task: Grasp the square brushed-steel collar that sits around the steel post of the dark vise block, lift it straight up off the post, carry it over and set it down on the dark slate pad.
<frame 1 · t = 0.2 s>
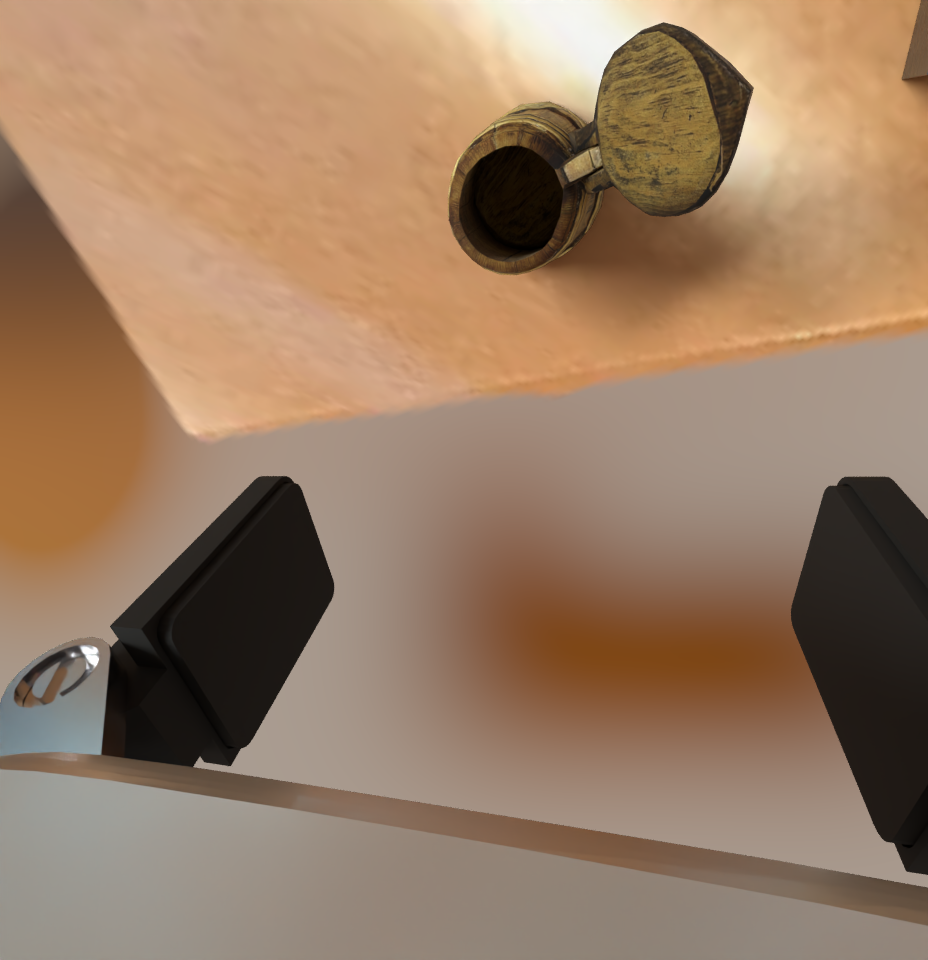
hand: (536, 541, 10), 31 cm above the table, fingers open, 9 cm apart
wooden mug: (565, 172, 33), on the table
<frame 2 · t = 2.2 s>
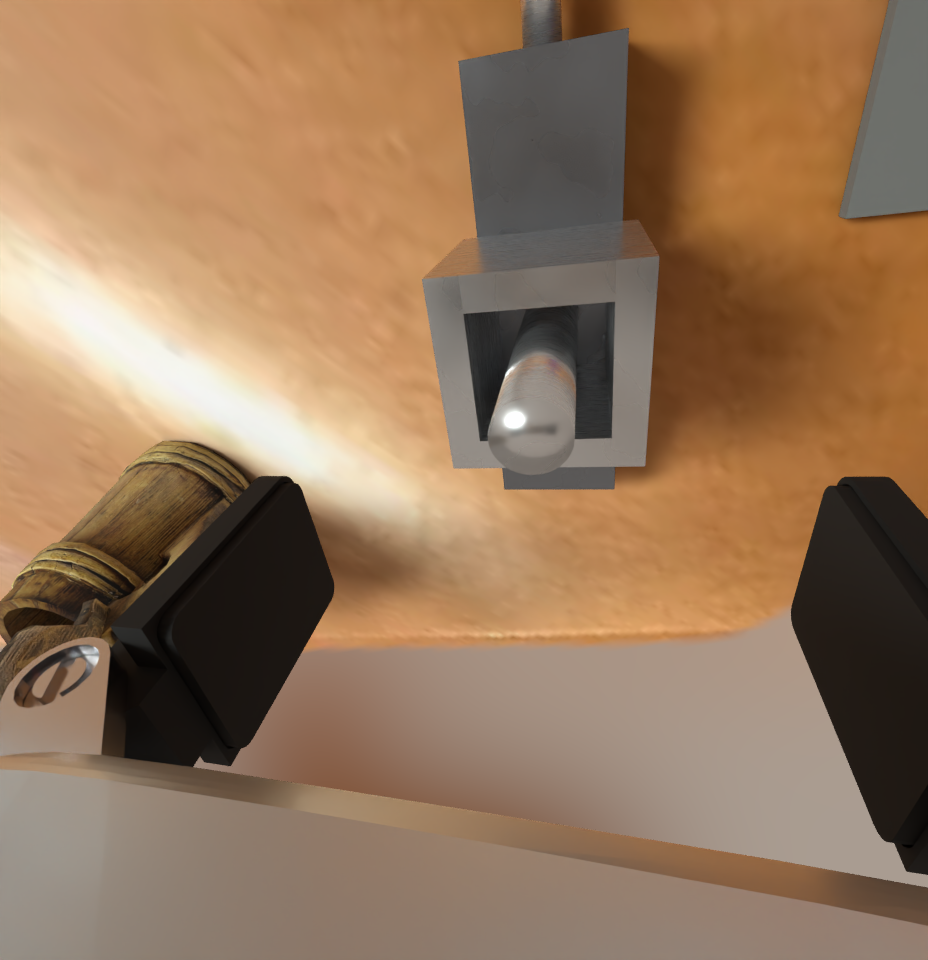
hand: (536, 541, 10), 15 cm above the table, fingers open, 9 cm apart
wooden mug: (230, 491, 32), on the table
steel collar: (551, 315, 20), point 2 cm above the table, touching vise block
vise block: (554, 298, 22), on the table
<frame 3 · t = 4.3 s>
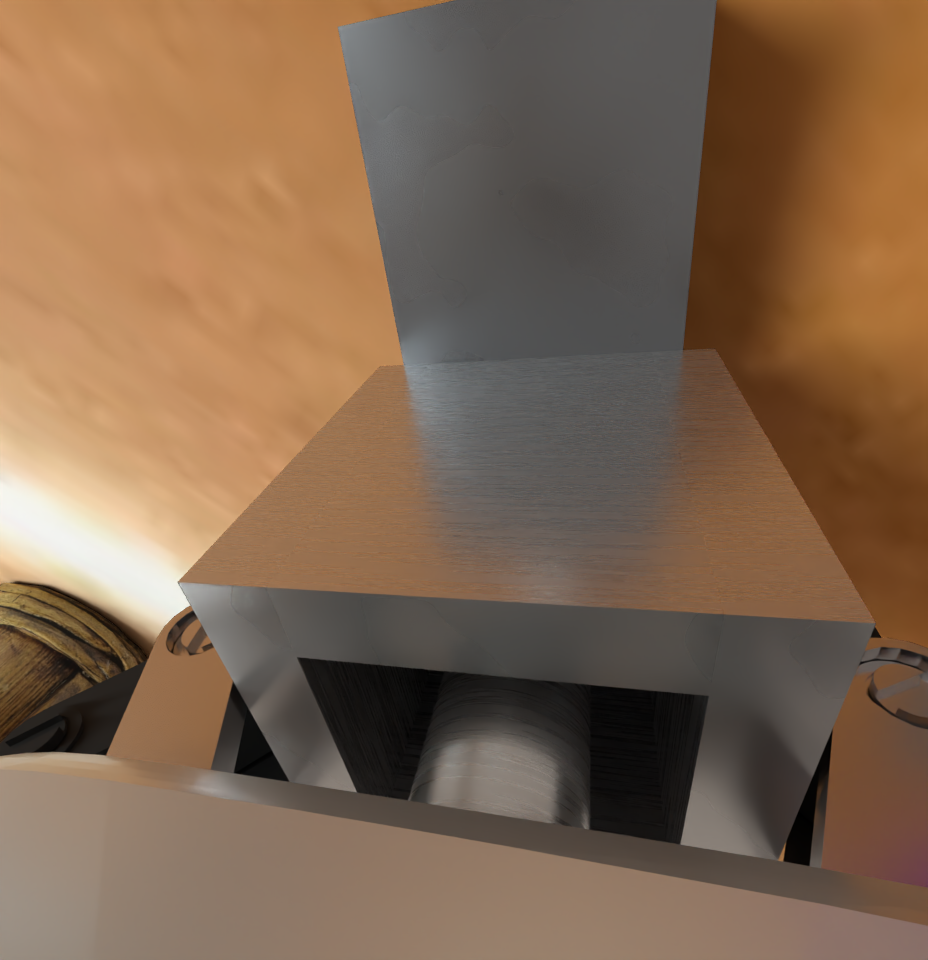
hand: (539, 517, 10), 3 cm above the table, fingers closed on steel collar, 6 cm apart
wooden mug: (107, 641, 23), on the table
steel collar: (542, 495, 11), point 3 cm above the table, touching gripper, vise block
vise block: (550, 439, 13), on the table
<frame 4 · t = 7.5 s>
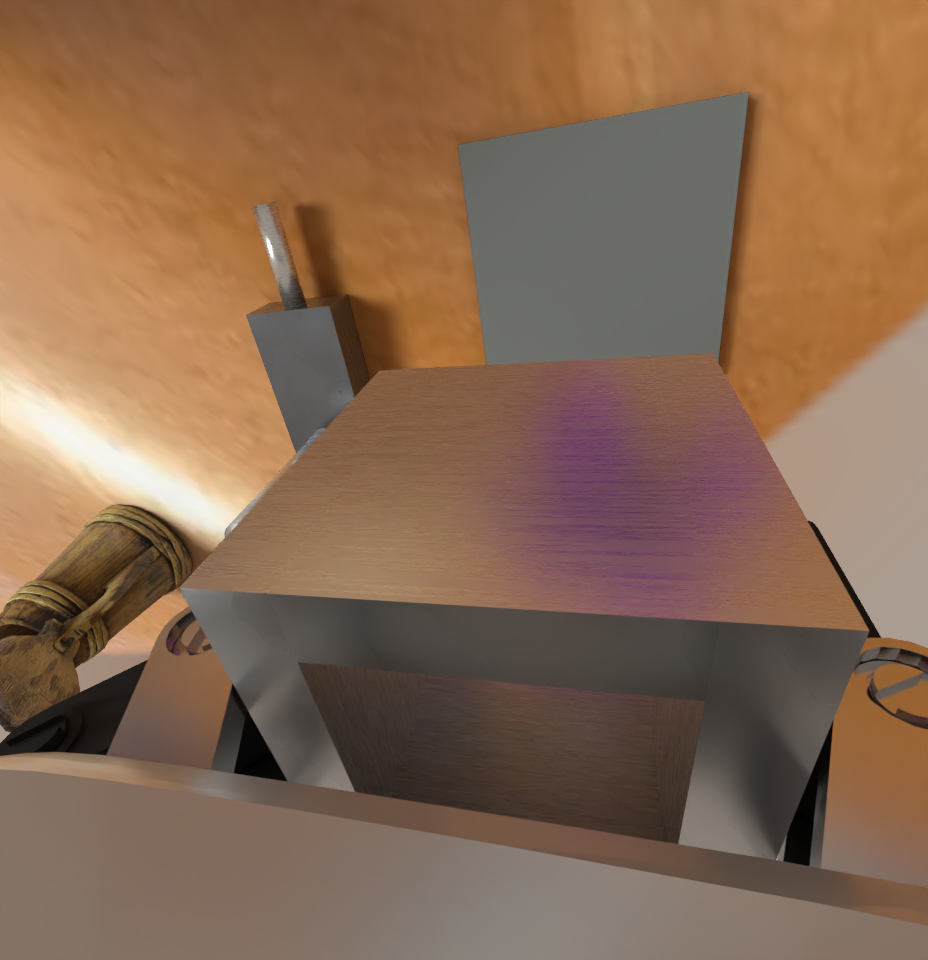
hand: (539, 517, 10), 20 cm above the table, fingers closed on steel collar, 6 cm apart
slate pad: (595, 265, 26), on the table
wooden mug: (162, 538, 44), on the table
steel collar: (541, 498, 11), point 19 cm above the table, touching gripper
vise block: (344, 424, 34), on the table
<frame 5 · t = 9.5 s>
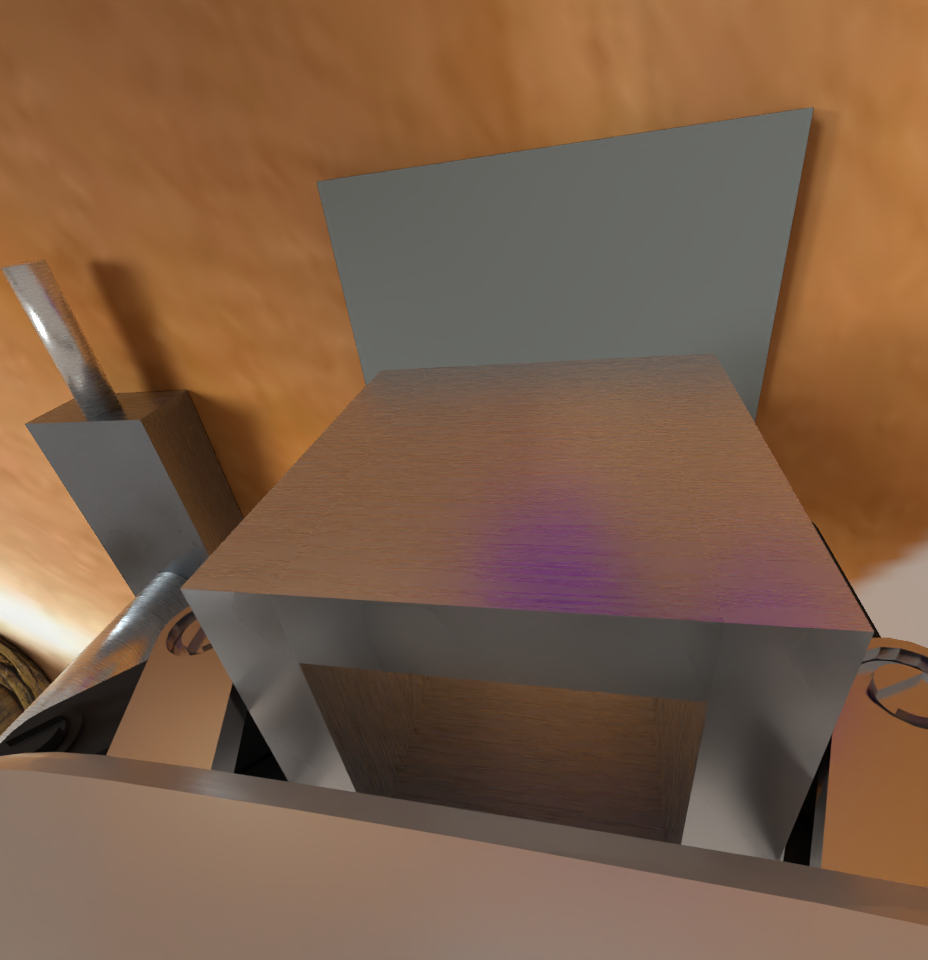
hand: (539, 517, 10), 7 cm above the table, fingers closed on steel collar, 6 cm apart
slate pad: (549, 371, 16), on the table
wooden mug: (12, 655, 34), on the table
steel collar: (542, 498, 11), point 7 cm above the table, touching gripper
vise block: (211, 551, 24), on the table
when the fingers open (3 cm above the table, at t = 11.2 s): steel collar drops 2 cm, resting on slate pad.
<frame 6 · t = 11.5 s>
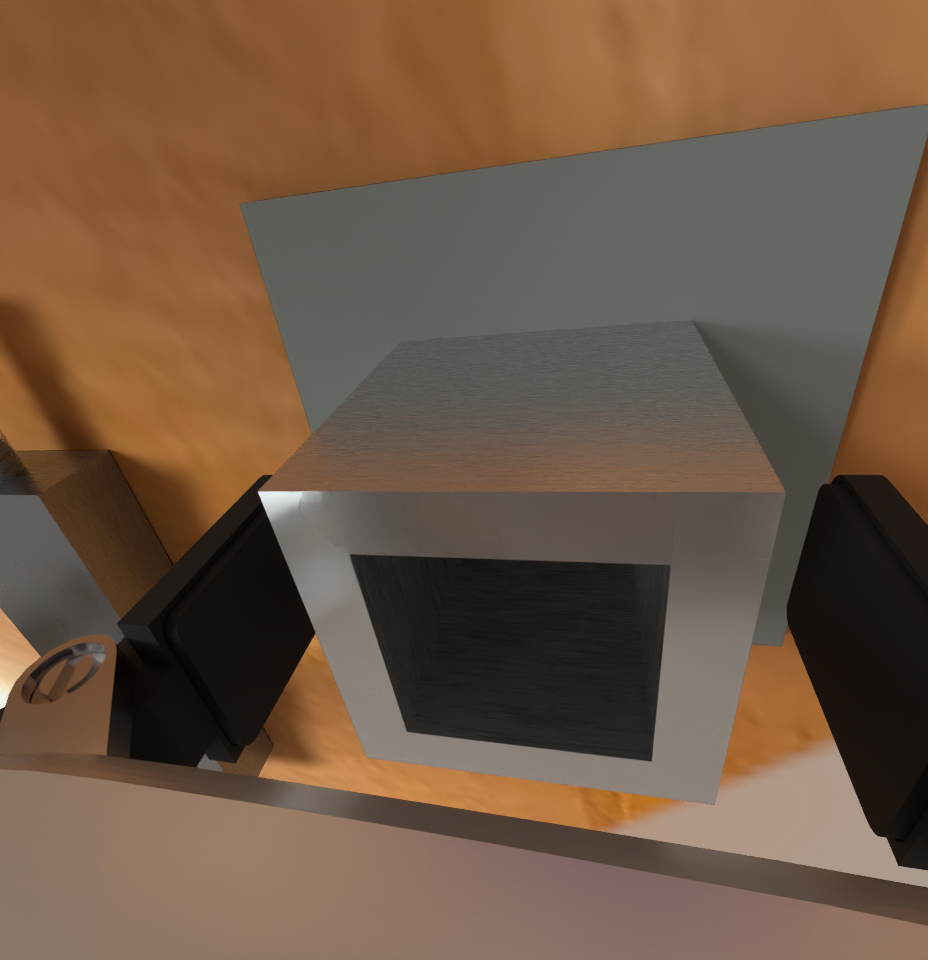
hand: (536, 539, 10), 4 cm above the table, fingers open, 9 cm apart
slate pad: (549, 443, 13), on the table
steel collar: (543, 456, 12), point 1 cm above the table, touching slate pad
vise block: (154, 624, 21), on the table
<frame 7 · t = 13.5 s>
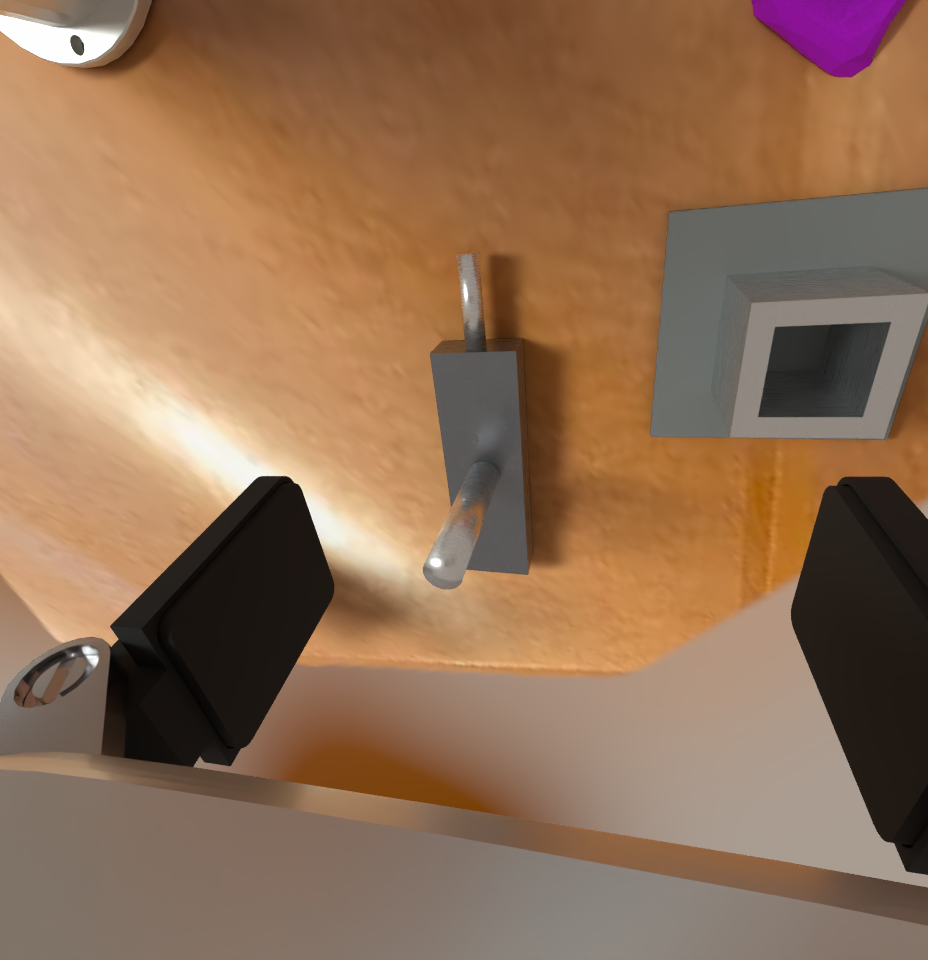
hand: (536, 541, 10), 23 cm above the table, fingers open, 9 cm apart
slate pad: (781, 329, 27), on the table
steel collar: (782, 332, 26), point 1 cm above the table, touching slate pad
vise block: (491, 456, 35), on the table
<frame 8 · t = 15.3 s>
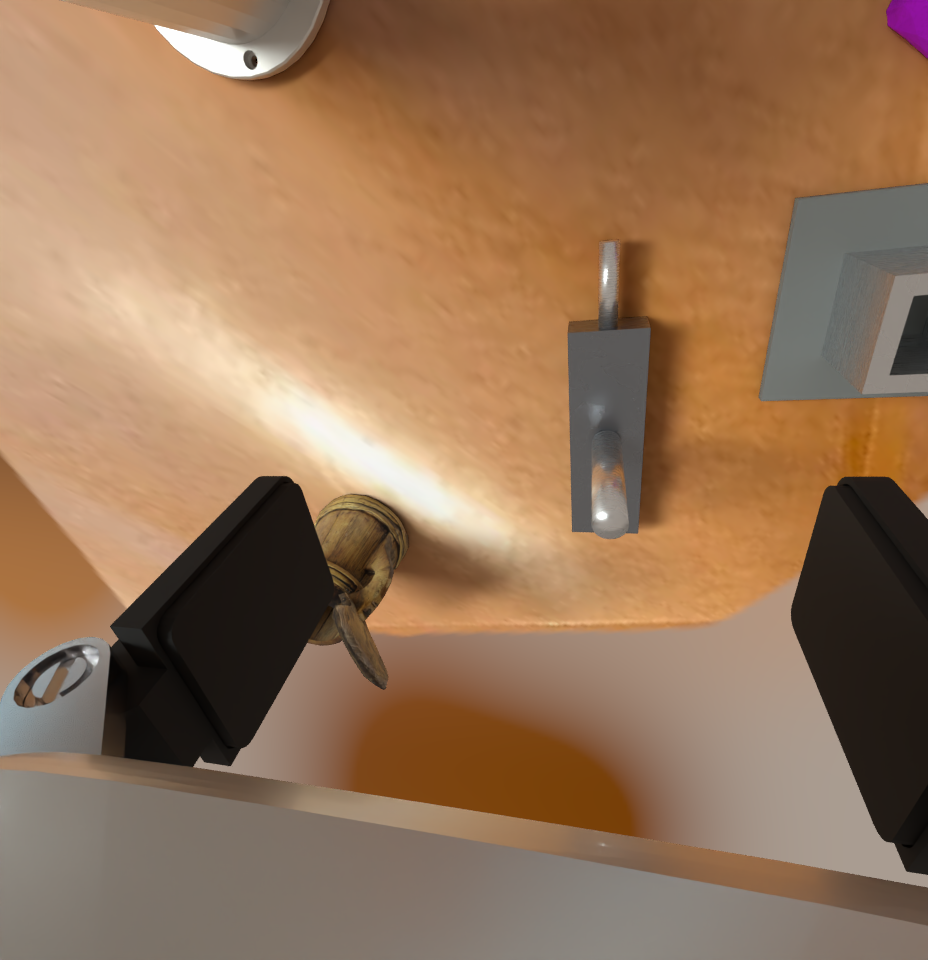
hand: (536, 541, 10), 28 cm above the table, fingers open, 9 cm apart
slate pad: (888, 299, 31), on the table
wooden mug: (383, 525, 49), on the table
steel collar: (891, 302, 30), point 1 cm above the table, touching slate pad
vise block: (605, 427, 39), on the table
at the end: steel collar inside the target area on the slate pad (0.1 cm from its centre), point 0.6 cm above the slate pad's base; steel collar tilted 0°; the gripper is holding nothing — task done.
